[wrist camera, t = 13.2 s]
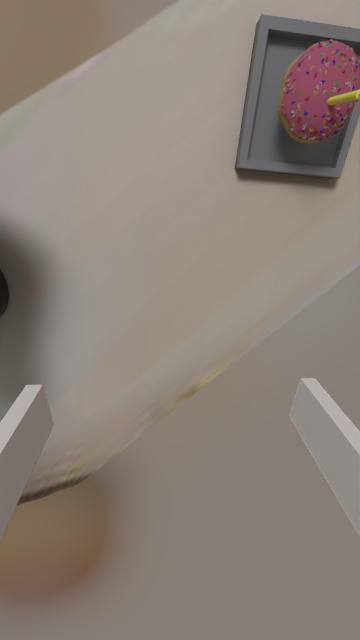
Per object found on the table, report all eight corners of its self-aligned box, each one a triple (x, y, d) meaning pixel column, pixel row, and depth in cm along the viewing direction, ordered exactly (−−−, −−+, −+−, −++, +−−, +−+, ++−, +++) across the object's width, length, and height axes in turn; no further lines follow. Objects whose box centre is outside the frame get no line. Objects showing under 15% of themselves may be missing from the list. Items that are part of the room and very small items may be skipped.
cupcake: (333, 138, 33) (414, 109, 22) (269, 158, 34) (317, 140, 23) (332, 51, 29) (429, -34, 18) (260, 76, 30) (313, 8, 19)
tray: (234, 168, 34) (238, 167, 33) (256, 24, 28) (261, 14, 27) (331, 178, 36) (339, 177, 34) (372, 41, 29) (384, 32, 28)
